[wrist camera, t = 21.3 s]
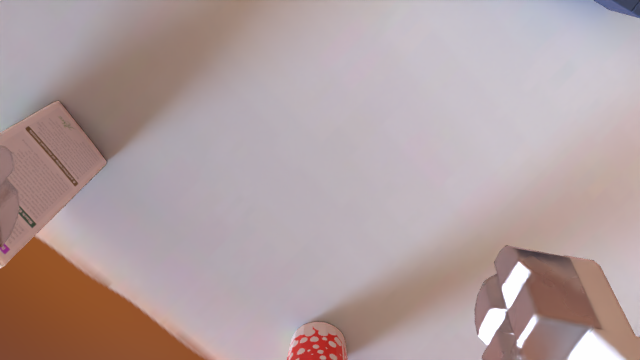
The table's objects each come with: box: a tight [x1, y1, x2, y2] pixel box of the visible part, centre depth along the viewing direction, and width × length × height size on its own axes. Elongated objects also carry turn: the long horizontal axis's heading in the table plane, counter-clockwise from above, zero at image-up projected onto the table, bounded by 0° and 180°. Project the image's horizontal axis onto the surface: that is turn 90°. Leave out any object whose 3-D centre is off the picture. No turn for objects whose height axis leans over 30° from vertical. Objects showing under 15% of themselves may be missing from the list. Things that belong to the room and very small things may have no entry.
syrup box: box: [0, 101, 107, 268], centre depth 35 cm, size 6×6×14 cm
